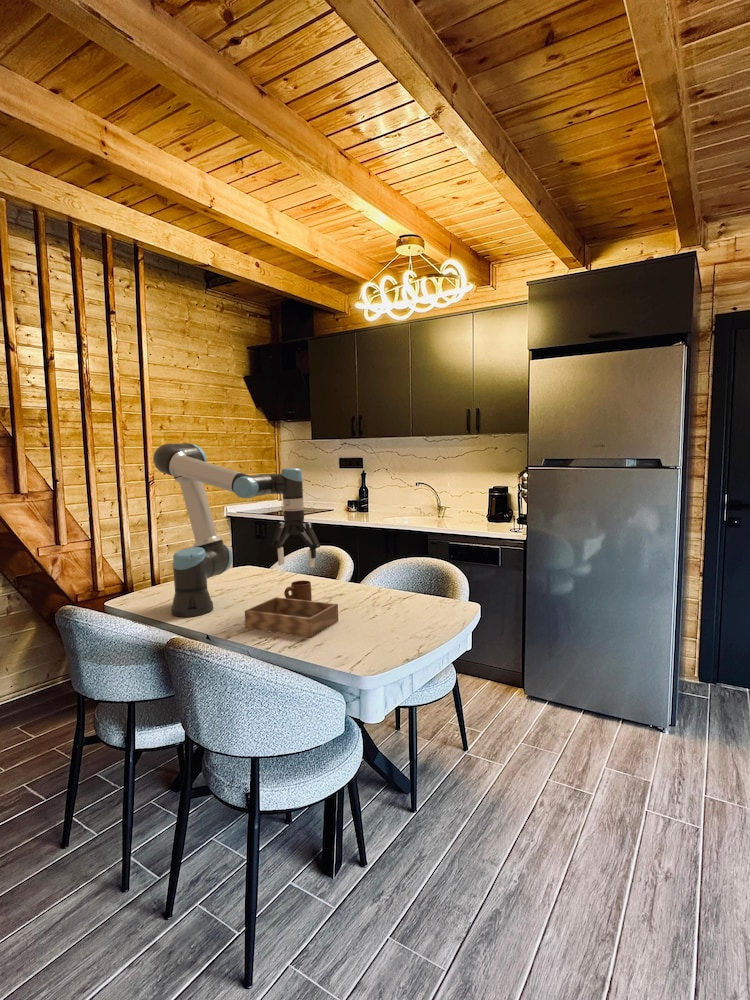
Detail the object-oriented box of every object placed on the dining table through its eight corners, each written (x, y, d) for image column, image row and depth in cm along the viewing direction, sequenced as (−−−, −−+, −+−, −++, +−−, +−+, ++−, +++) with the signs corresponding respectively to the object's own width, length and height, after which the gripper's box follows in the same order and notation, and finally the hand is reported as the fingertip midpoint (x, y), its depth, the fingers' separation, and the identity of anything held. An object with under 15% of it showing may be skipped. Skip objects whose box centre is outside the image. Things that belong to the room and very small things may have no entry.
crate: (245, 628, 183) (244, 610, 182) (276, 613, 199) (275, 597, 198) (311, 637, 172) (310, 619, 171) (338, 620, 188) (337, 603, 188)
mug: (292, 613, 198) (291, 588, 197) (278, 610, 202) (277, 585, 201) (316, 606, 207) (315, 581, 206) (302, 602, 212) (301, 579, 211)
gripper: (260, 510, 203) (263, 565, 205) (317, 511, 192) (319, 569, 194) (271, 508, 210) (274, 562, 212) (327, 508, 199) (330, 565, 201)
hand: (296, 565), depth 203 cm, fingers open, 13 cm apart
